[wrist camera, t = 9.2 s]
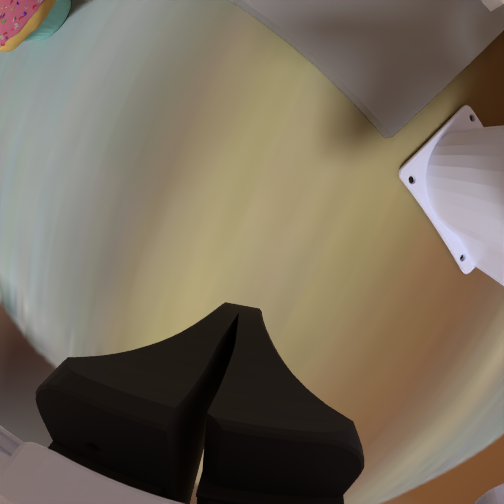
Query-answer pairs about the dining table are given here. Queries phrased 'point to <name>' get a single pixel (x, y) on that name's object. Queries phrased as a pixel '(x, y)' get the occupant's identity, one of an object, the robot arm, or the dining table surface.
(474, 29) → the panel
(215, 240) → the dining table surface
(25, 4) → the cupcake
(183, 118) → the dining table surface
